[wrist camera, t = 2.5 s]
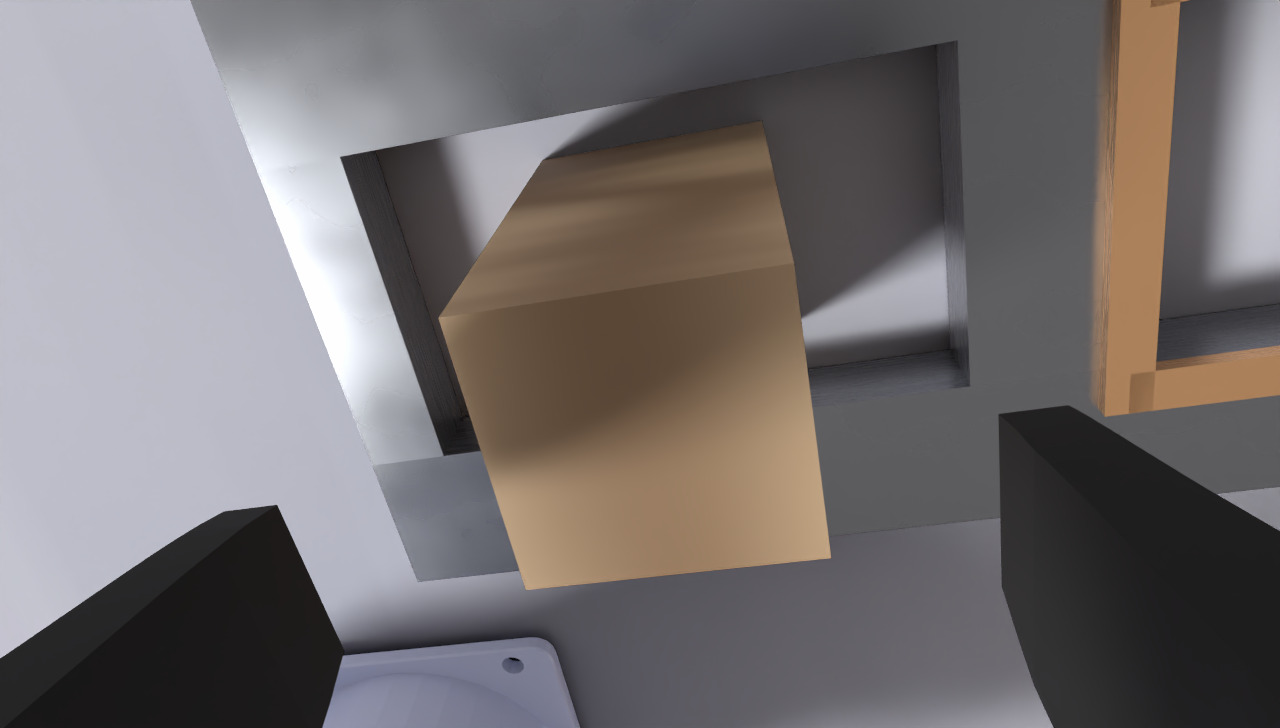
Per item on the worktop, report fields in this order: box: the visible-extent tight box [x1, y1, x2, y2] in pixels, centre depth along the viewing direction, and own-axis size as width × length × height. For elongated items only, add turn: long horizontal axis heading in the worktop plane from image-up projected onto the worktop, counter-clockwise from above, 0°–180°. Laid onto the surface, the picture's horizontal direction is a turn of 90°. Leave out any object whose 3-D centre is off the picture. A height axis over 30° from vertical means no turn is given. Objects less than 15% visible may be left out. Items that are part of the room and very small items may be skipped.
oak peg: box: [438, 121, 831, 590], centre depth 14 cm, size 4×4×7 cm
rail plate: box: [190, 0, 1280, 582], centre depth 15 cm, size 26×12×2 cm, turn 101°
